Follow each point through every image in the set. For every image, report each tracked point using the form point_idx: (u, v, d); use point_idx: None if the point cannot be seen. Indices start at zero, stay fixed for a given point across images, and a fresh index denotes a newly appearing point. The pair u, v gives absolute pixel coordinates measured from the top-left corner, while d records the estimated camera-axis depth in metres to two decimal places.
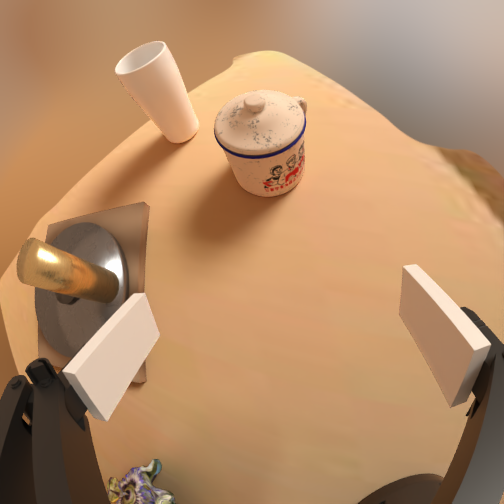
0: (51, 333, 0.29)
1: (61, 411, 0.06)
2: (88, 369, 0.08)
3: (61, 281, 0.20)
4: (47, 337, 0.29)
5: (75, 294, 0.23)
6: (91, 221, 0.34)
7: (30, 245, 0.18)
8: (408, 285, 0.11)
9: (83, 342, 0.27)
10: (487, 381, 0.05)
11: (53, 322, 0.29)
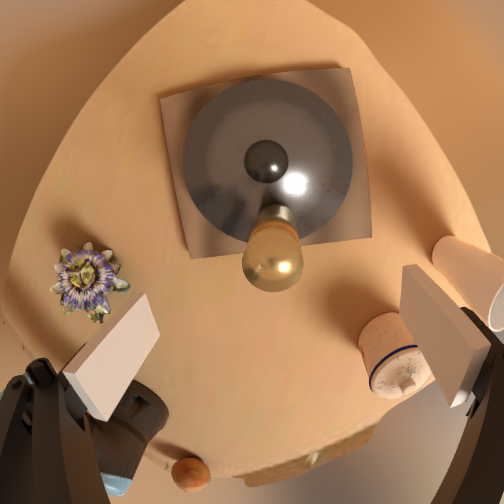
0: (202, 134, 0.27)
1: (61, 411, 0.06)
2: (88, 369, 0.08)
3: None
4: (194, 126, 0.27)
5: None
6: (355, 160, 0.28)
7: (293, 262, 0.18)
8: (408, 285, 0.11)
9: (207, 197, 0.29)
10: (487, 381, 0.05)
11: (217, 136, 0.27)
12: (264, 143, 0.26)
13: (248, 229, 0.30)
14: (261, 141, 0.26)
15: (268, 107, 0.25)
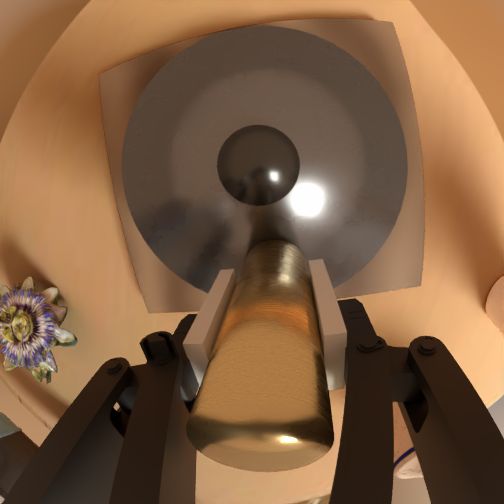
0: (150, 121, 0.15)
1: (174, 397, 0.07)
2: (210, 339, 0.10)
3: None
4: (139, 108, 0.15)
5: None
6: None
7: (308, 443, 0.06)
8: (310, 277, 0.14)
9: (161, 226, 0.17)
10: None
11: (174, 122, 0.15)
12: (255, 131, 0.14)
13: None
14: (249, 127, 0.14)
15: (263, 69, 0.13)
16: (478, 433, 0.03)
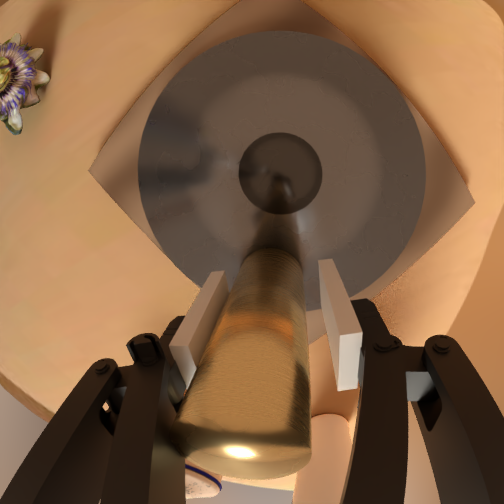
0: (181, 101, 0.14)
1: (161, 398, 0.07)
2: (196, 341, 0.10)
3: None
4: (172, 85, 0.14)
5: None
6: None
7: (285, 460, 0.06)
8: (320, 277, 0.14)
9: (167, 209, 0.17)
10: None
11: (206, 109, 0.14)
12: (285, 139, 0.13)
13: None
14: (281, 134, 0.13)
15: (307, 79, 0.13)
16: (489, 432, 0.03)
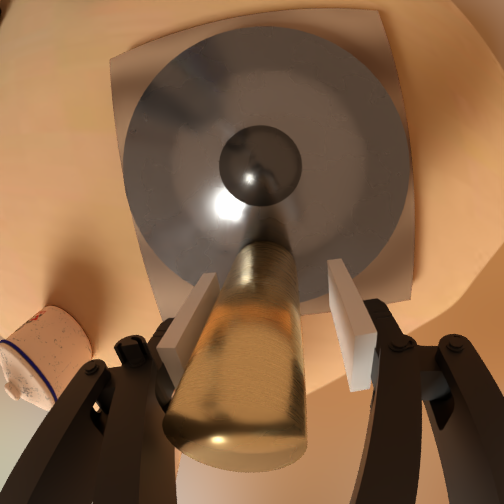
0: (158, 108, 0.15)
1: (149, 398, 0.07)
2: (184, 343, 0.10)
3: None
4: (148, 93, 0.14)
5: None
6: None
7: (282, 448, 0.06)
8: (330, 277, 0.13)
9: (156, 215, 0.17)
10: None
11: (182, 112, 0.15)
12: (261, 132, 0.13)
13: (217, 276, 0.18)
14: (256, 127, 0.13)
15: (277, 71, 0.13)
16: (500, 430, 0.03)
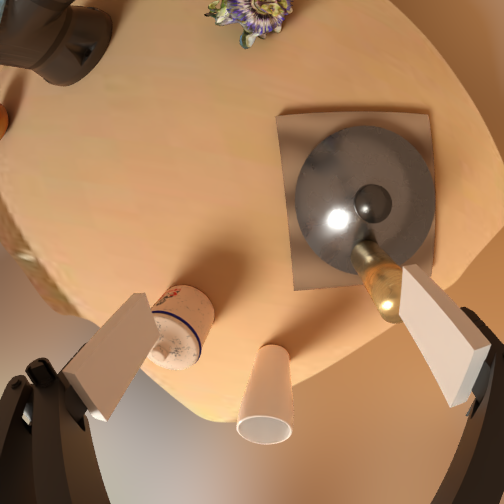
0: (320, 163, 0.29)
1: (61, 411, 0.06)
2: (88, 369, 0.08)
3: None
4: (314, 153, 0.29)
5: (362, 279, 0.27)
6: None
7: None
8: (408, 285, 0.11)
9: (313, 223, 0.31)
10: (487, 381, 0.05)
11: (334, 169, 0.29)
12: (376, 188, 0.28)
13: (342, 258, 0.32)
14: (374, 185, 0.28)
15: (382, 155, 0.28)
16: None
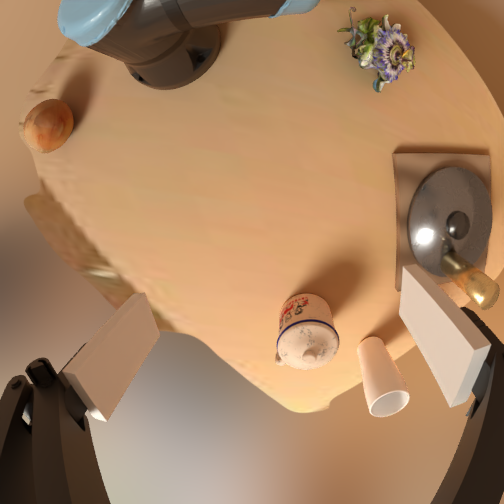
0: (428, 195, 0.34)
1: (61, 411, 0.06)
2: (88, 369, 0.08)
3: (469, 296, 0.29)
4: (425, 187, 0.33)
5: (457, 281, 0.32)
6: (442, 277, 0.39)
7: (495, 296, 0.25)
8: (408, 285, 0.11)
9: (420, 240, 0.36)
10: (487, 381, 0.05)
11: (436, 200, 0.34)
12: (462, 214, 0.33)
13: (435, 265, 0.37)
14: (461, 213, 0.33)
15: (464, 189, 0.32)
16: None
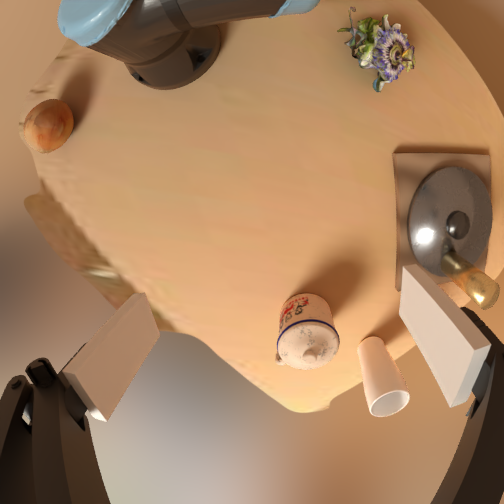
0: (428, 195, 0.34)
1: (61, 411, 0.06)
2: (88, 369, 0.08)
3: (469, 296, 0.29)
4: (425, 187, 0.33)
5: (457, 281, 0.32)
6: None
7: (495, 296, 0.25)
8: (408, 285, 0.11)
9: (420, 239, 0.36)
10: (487, 381, 0.05)
11: (436, 199, 0.34)
12: (462, 214, 0.33)
13: (435, 265, 0.37)
14: (461, 212, 0.33)
15: (464, 189, 0.32)
16: None
